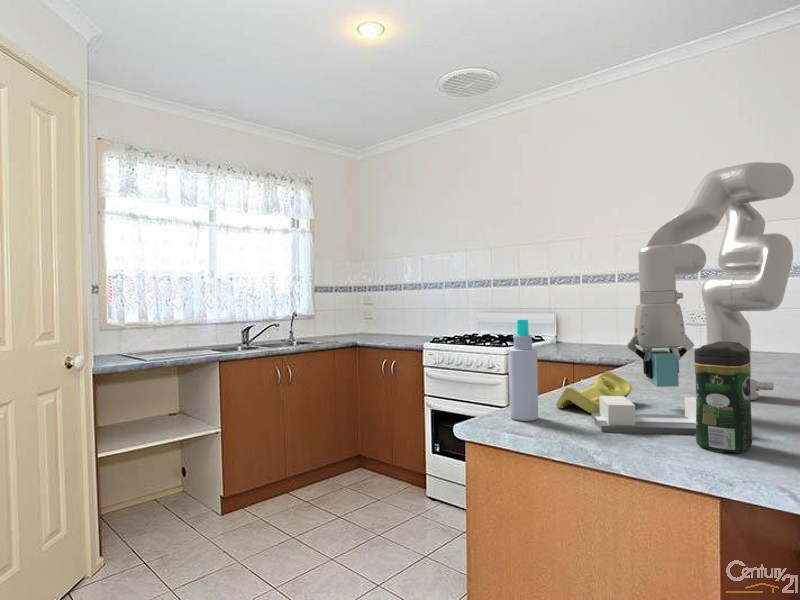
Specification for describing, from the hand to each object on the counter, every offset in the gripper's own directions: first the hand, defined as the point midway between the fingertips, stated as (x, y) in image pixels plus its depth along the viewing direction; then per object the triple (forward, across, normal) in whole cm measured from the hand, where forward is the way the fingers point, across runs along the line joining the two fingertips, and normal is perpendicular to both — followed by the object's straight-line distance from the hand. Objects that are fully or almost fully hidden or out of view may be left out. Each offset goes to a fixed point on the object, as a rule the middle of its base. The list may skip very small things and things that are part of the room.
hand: (661, 376), depth 117 cm
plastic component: (+8, +14, -2) cm, 16 cm away
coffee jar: (+7, -2, +28) cm, 29 cm away
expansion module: (+2, 0, 0) cm, 2 cm away
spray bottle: (+7, +32, +12) cm, 35 cm away
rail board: (+7, +5, +16) cm, 18 cm away
